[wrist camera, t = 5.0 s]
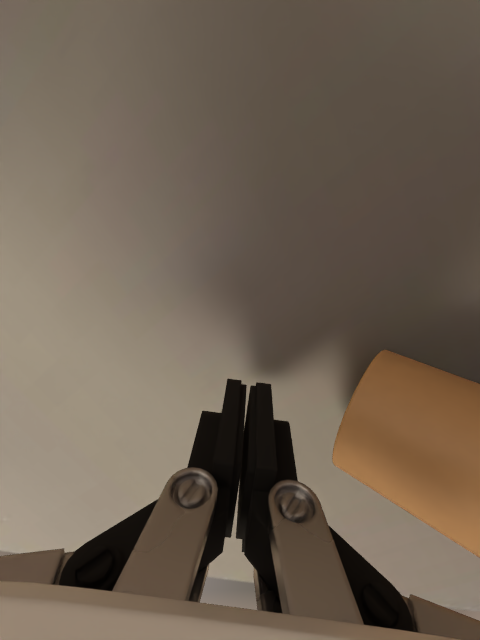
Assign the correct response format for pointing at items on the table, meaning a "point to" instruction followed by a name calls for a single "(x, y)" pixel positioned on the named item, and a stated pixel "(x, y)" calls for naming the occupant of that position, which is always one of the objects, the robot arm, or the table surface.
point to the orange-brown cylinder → (417, 443)
